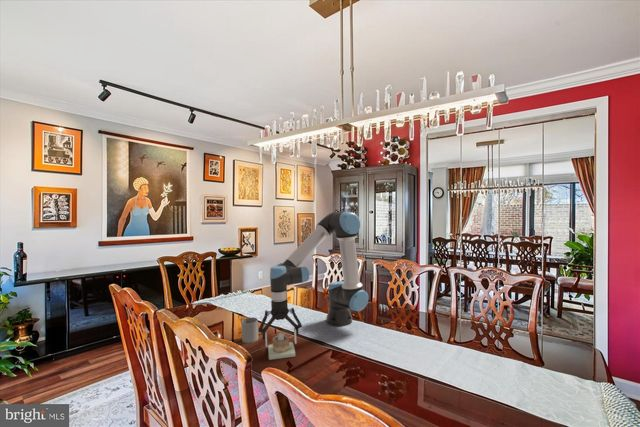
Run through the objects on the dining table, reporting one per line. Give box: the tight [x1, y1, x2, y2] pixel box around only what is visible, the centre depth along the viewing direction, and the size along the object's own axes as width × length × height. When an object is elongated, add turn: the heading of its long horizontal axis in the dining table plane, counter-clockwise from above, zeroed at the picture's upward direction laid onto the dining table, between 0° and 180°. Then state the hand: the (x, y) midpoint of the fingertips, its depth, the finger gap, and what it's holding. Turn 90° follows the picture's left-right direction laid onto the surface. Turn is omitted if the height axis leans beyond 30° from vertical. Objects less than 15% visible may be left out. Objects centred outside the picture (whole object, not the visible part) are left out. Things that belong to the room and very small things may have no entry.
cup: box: [240, 316, 259, 344], centre depth 160 cm, size 8×8×10 cm
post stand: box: [267, 332, 296, 361], centre depth 144 cm, size 12×12×8 cm
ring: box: [272, 334, 290, 353], centre depth 144 cm, size 8×8×5 cm
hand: (281, 344), depth 144 cm, fingers open, 13 cm apart
